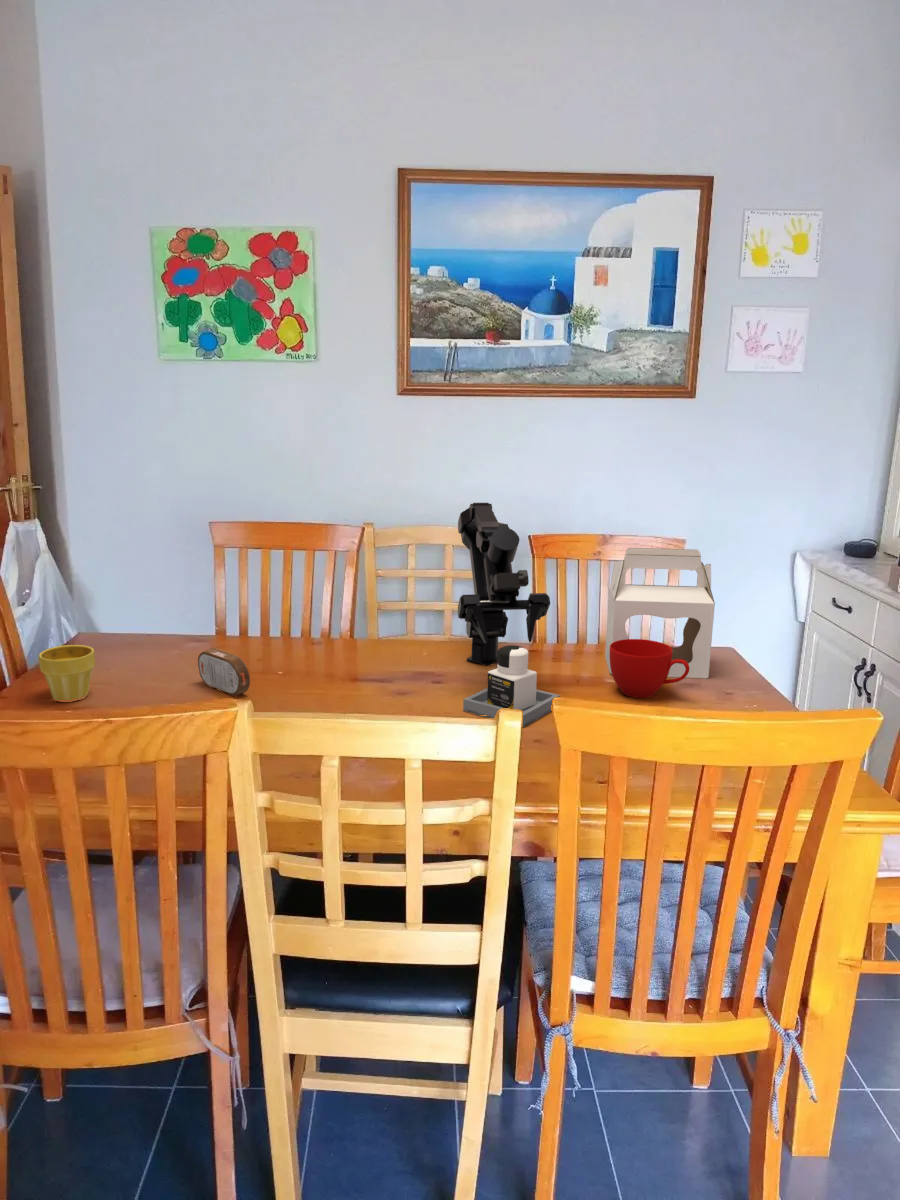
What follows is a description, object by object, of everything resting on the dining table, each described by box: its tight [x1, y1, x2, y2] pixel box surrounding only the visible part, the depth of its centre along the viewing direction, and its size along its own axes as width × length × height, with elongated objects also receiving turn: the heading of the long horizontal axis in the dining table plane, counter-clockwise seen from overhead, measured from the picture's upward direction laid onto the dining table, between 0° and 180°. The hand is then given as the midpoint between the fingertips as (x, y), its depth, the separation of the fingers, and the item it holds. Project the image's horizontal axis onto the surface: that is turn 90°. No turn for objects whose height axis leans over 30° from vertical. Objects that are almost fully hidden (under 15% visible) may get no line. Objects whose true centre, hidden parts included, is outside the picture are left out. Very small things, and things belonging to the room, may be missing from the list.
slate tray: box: [462, 687, 561, 728], centre depth 177 cm, size 14×14×2 cm
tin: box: [197, 647, 251, 697], centre depth 185 cm, size 15×3×8 cm, turn 50°
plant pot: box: [38, 644, 96, 700], centre depth 180 cm, size 10×10×10 cm
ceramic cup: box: [610, 638, 689, 699], centre depth 185 cm, size 13×17×10 cm
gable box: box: [605, 547, 716, 680], centre depth 201 cm, size 22×13×28 cm, turn 85°
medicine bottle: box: [487, 645, 538, 710], centre depth 176 cm, size 7×7×12 cm
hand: (508, 641), depth 180 cm, fingers open, 9 cm apart
